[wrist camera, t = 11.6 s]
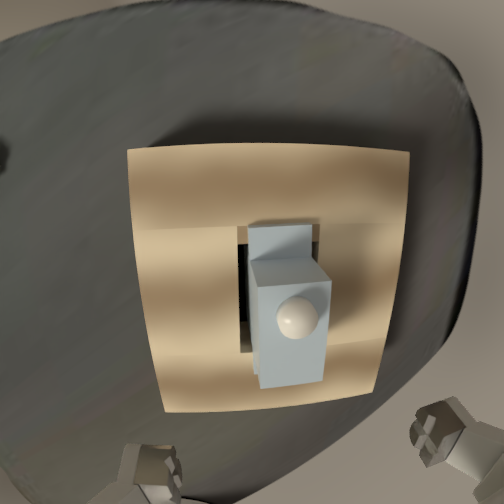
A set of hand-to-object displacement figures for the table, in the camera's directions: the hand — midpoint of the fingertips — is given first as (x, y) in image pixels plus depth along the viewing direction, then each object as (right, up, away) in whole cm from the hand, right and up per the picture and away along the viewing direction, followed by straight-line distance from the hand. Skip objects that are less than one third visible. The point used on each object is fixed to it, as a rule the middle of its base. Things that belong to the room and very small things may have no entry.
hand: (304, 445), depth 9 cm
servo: (0, +4, +14) cm, 15 cm away
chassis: (-1, +4, +14) cm, 15 cm away
